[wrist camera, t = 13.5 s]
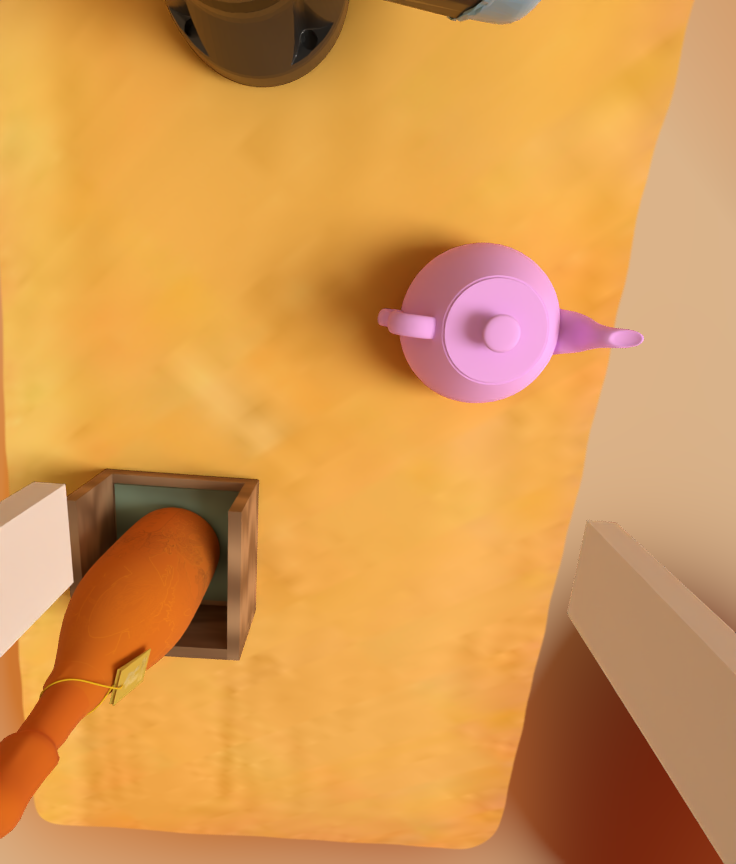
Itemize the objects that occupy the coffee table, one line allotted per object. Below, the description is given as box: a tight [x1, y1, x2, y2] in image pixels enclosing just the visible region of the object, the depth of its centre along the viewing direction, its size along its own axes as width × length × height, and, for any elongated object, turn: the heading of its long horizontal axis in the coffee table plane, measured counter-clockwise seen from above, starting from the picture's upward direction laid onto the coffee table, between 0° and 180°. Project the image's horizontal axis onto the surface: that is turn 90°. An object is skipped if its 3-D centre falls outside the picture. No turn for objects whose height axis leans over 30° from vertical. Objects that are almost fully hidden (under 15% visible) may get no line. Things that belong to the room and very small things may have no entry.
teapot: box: [378, 243, 644, 403], centre depth 45 cm, size 20×14×12 cm
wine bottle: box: [0, 507, 220, 839], centre depth 41 cm, size 10×10×30 cm
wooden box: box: [67, 469, 259, 660], centre depth 53 cm, size 16×16×8 cm
